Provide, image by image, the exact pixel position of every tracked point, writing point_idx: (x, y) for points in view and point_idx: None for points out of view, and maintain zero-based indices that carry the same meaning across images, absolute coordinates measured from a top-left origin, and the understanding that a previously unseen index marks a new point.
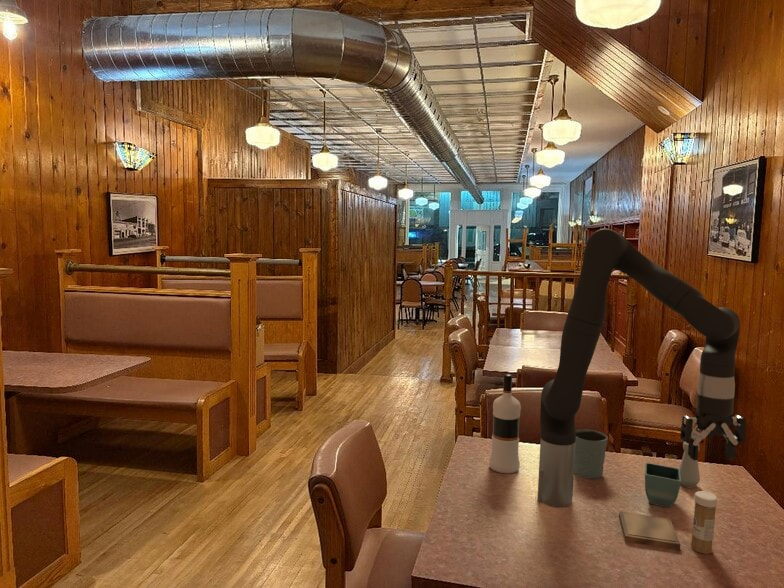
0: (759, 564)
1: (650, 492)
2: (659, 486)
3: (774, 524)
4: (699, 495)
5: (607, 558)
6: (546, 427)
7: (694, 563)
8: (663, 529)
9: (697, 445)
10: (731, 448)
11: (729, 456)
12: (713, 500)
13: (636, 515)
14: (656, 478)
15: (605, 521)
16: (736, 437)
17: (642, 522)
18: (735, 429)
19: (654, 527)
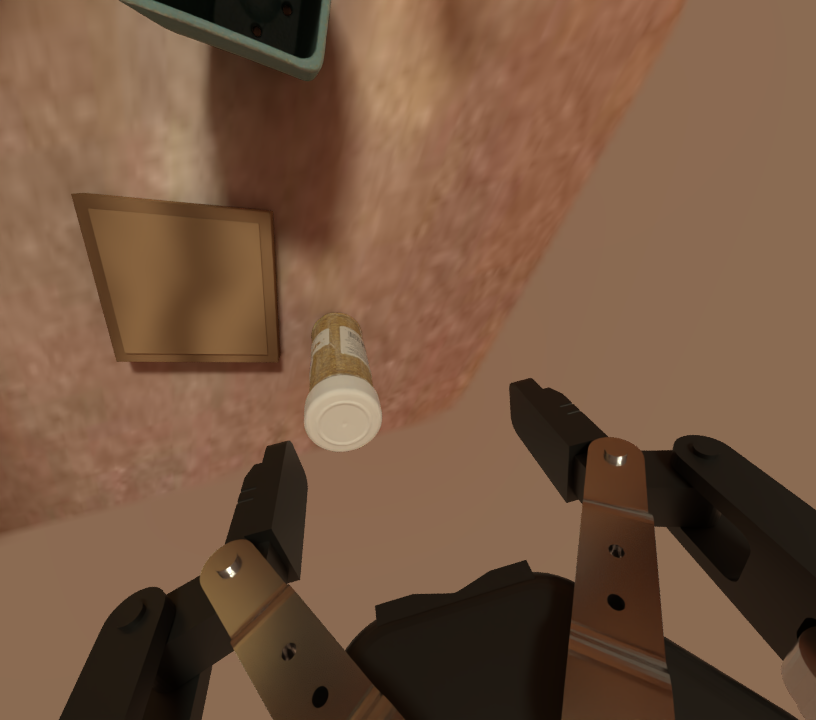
0: (449, 362)
1: (189, 37)
2: (220, 43)
3: (603, 137)
4: (316, 433)
5: (87, 438)
6: None
7: (304, 398)
8: (238, 299)
9: (293, 574)
10: (554, 484)
11: (520, 430)
12: (360, 447)
13: (145, 219)
14: (185, 25)
15: (38, 240)
16: (666, 514)
17: (169, 269)
18: (754, 550)
19: (210, 292)
